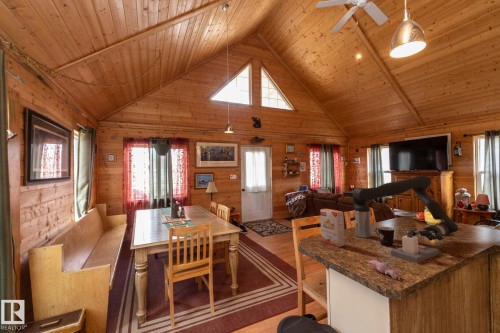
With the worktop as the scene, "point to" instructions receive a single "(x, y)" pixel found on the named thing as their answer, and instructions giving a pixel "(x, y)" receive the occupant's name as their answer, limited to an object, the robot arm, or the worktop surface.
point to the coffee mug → (386, 236)
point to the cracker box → (332, 227)
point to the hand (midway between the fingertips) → (420, 236)
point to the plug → (410, 243)
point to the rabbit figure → (386, 269)
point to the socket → (423, 254)
